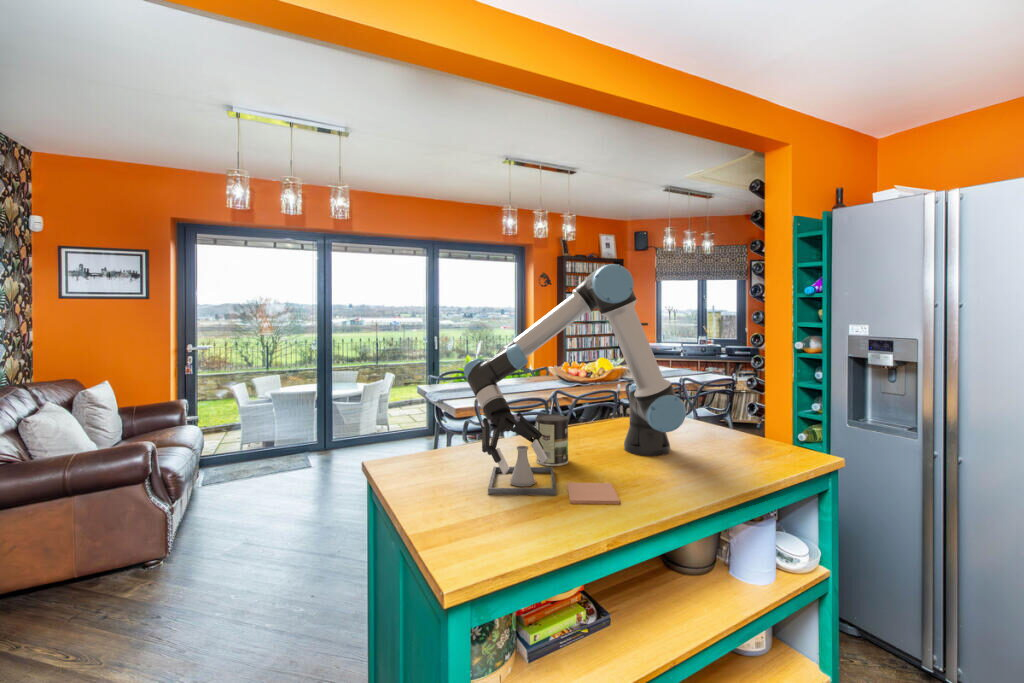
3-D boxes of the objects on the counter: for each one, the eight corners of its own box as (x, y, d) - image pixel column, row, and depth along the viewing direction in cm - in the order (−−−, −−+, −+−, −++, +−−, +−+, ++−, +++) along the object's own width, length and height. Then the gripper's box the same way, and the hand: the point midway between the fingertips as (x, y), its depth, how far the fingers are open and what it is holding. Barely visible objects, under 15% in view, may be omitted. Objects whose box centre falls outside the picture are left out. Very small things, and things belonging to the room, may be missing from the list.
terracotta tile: (611, 485, 123) (611, 482, 123) (619, 503, 111) (619, 500, 111) (566, 485, 123) (566, 482, 123) (570, 503, 112) (570, 500, 111)
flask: (538, 479, 128) (538, 444, 128) (532, 488, 122) (532, 451, 121) (513, 477, 130) (513, 442, 130) (506, 486, 124) (506, 450, 123)
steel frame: (553, 472, 134) (553, 467, 134) (556, 495, 117) (556, 489, 117) (493, 471, 135) (493, 466, 135) (488, 494, 118) (487, 488, 118)
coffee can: (566, 456, 150) (566, 413, 149) (570, 466, 139) (570, 421, 139) (535, 456, 150) (535, 414, 149) (536, 466, 140) (536, 421, 139)
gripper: (520, 406, 145) (552, 464, 134) (452, 417, 130) (483, 483, 119) (531, 391, 141) (565, 450, 130) (462, 401, 125) (495, 468, 114)
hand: (526, 466), depth 124 cm, fingers open, 13 cm apart
